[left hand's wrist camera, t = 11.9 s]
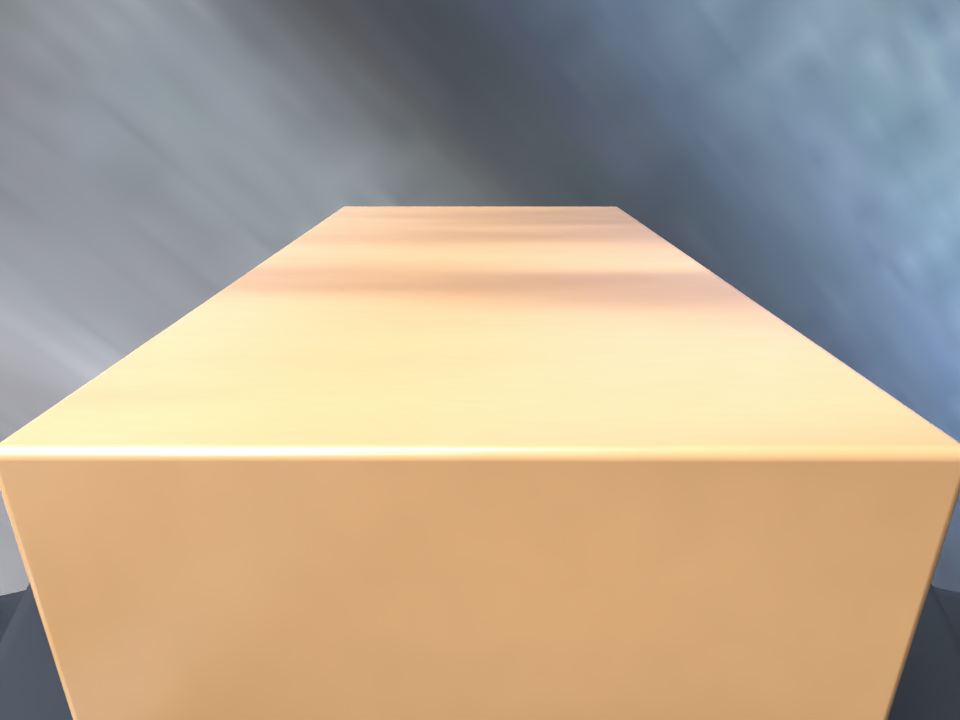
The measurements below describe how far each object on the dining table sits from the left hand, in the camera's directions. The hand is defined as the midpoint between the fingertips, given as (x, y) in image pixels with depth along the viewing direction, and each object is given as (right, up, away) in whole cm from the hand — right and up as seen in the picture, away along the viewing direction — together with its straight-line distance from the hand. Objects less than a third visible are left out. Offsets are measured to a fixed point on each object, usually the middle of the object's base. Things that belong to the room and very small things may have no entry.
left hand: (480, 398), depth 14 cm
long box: (0, -8, +4) cm, 9 cm away
